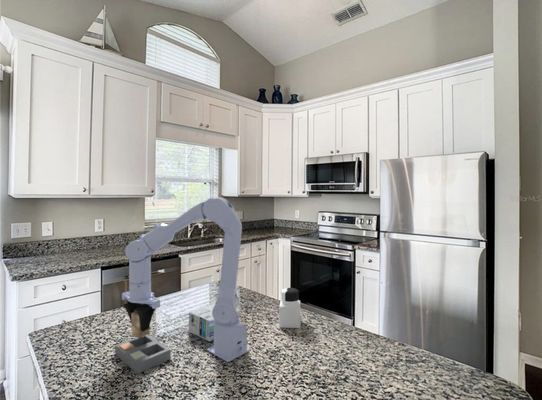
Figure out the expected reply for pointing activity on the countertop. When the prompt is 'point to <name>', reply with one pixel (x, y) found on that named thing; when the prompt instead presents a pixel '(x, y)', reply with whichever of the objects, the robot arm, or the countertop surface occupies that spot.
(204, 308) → the light bulb box
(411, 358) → the countertop surface
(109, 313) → the countertop surface
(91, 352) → the countertop surface
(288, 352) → the countertop surface
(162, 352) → the port board
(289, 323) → the medicine bottle
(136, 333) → the plug
